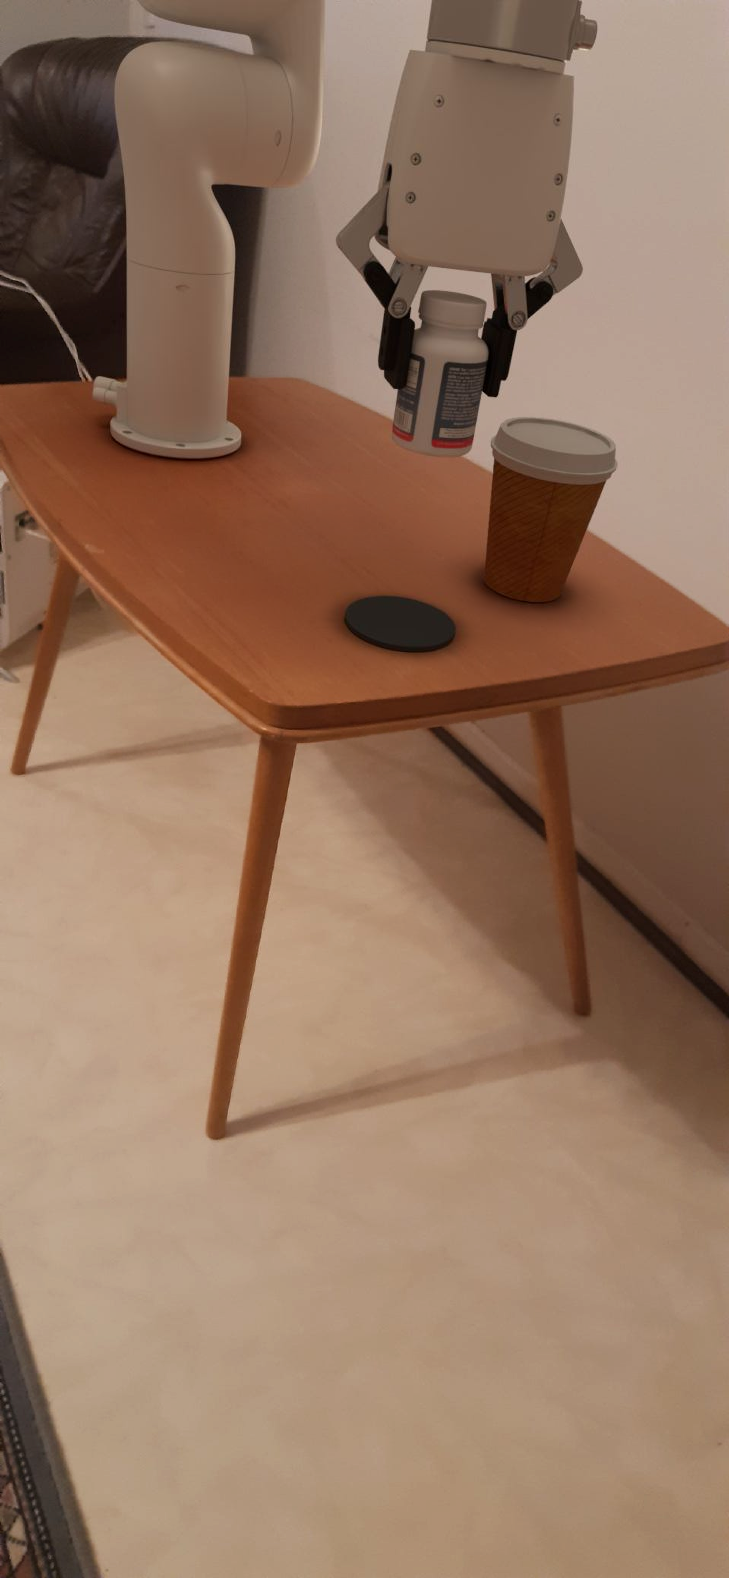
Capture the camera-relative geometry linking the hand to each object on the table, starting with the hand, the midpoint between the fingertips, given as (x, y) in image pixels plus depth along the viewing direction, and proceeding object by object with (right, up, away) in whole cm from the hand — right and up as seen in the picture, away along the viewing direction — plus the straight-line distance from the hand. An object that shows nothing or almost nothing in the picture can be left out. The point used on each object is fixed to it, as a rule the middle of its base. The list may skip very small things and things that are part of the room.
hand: (440, 384), depth 64 cm
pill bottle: (0, -3, +2) cm, 4 cm away
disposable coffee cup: (+8, -9, +18) cm, 22 cm away
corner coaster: (-2, -14, +9) cm, 17 cm away
